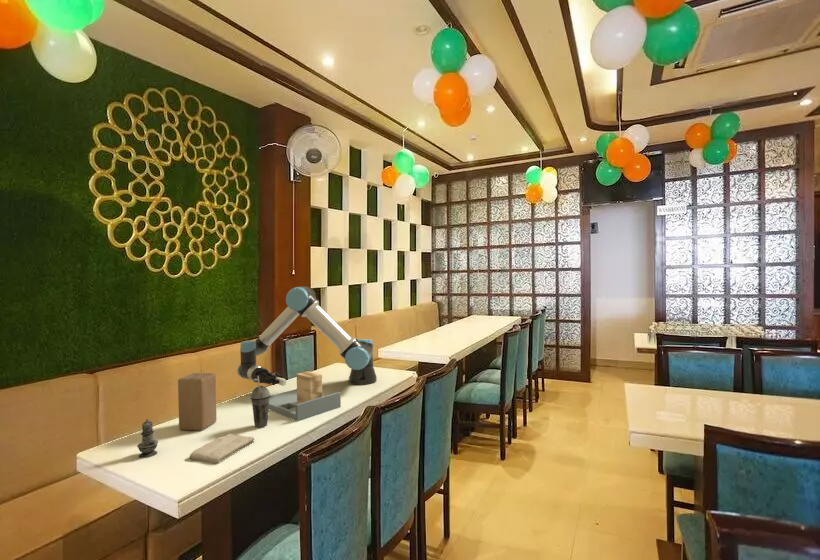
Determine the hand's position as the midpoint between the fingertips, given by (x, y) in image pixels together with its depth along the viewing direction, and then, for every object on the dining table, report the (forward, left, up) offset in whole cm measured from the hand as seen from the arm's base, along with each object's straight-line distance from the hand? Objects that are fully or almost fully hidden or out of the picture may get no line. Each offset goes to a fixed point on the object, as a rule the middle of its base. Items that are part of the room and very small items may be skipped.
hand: (284, 382), depth 188 cm
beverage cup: (+23, +20, -9) cm, 31 cm away
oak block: (-1, +19, -6) cm, 20 cm away
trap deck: (0, +11, -9) cm, 14 cm away
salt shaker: (+60, +14, -9) cm, 62 cm away
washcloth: (+42, +30, -10) cm, 52 cm away
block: (+39, +1, -9) cm, 40 cm away
